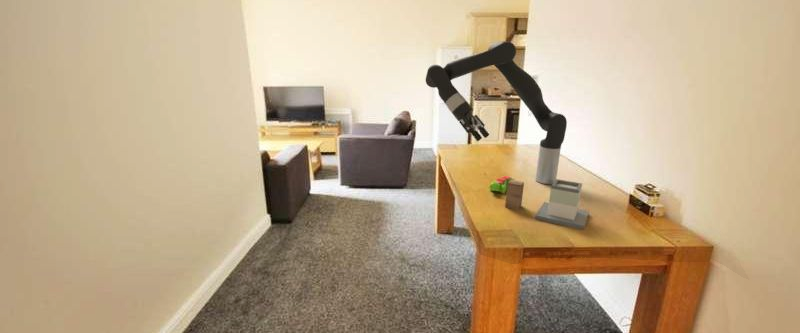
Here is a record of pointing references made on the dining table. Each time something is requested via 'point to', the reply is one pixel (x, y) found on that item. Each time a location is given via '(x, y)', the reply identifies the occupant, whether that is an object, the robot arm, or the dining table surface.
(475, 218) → the dining table surface
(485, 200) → the dining table surface
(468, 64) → the robot arm
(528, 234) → the dining table surface
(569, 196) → the tower
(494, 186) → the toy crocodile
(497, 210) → the dining table surface
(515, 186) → the walnut brick
